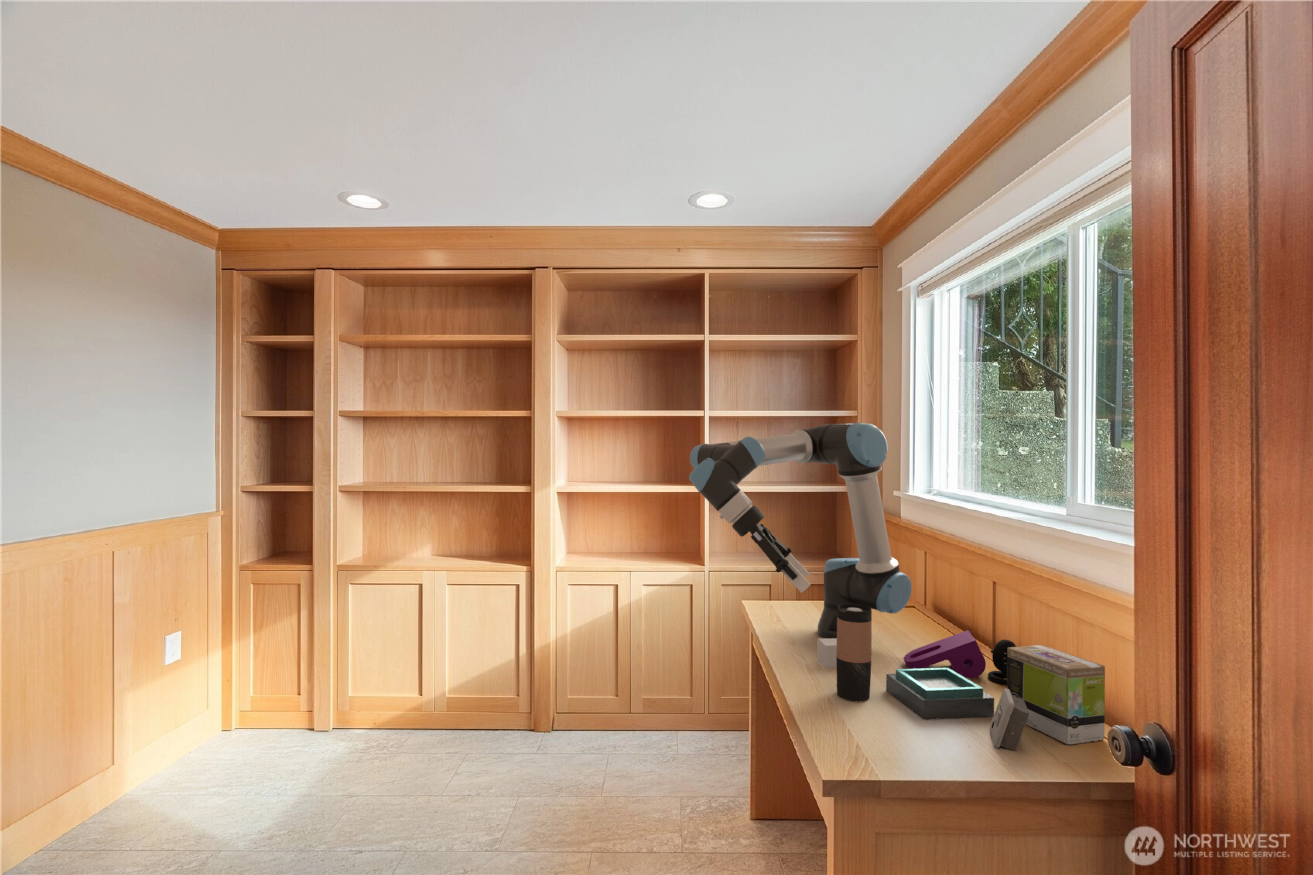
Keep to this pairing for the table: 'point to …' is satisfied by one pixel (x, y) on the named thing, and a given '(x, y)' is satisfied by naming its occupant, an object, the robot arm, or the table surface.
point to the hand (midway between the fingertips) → (805, 583)
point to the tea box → (1059, 692)
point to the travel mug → (854, 652)
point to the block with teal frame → (939, 694)
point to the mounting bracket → (950, 655)
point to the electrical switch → (1008, 721)
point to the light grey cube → (827, 653)
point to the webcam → (1000, 661)
